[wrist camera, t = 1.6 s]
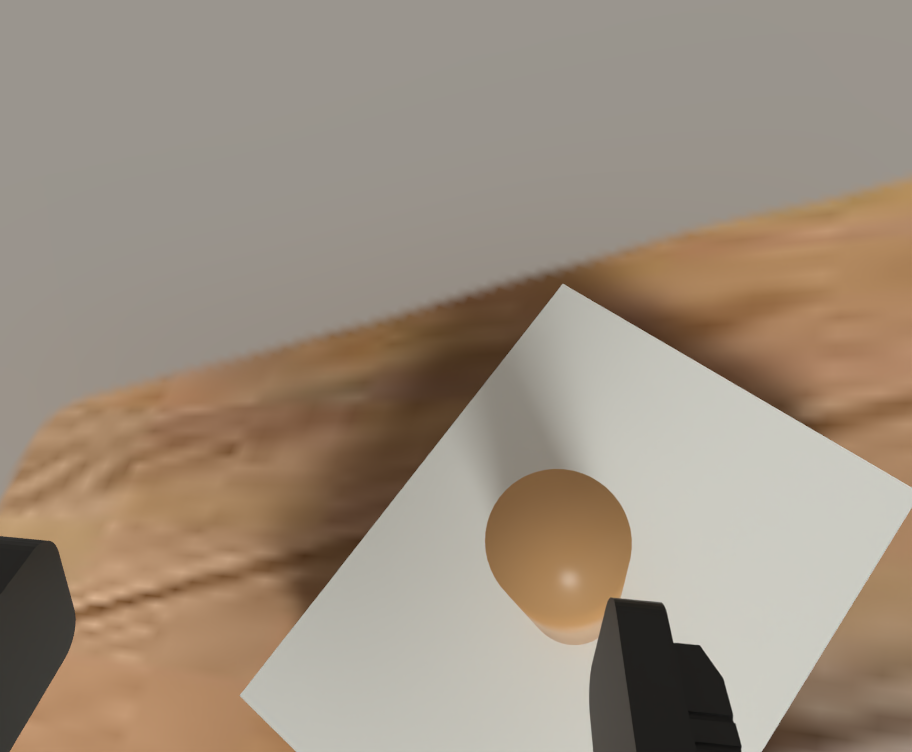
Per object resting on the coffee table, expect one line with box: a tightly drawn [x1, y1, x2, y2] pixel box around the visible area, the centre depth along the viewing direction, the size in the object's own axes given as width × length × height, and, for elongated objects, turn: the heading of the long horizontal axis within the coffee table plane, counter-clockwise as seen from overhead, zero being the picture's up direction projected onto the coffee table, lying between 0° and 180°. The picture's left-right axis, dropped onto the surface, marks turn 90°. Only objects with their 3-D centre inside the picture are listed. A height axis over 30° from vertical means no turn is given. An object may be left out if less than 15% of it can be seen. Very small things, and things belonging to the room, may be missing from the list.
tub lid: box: [240, 284, 912, 752], centre depth 23 cm, size 20×15×14 cm
